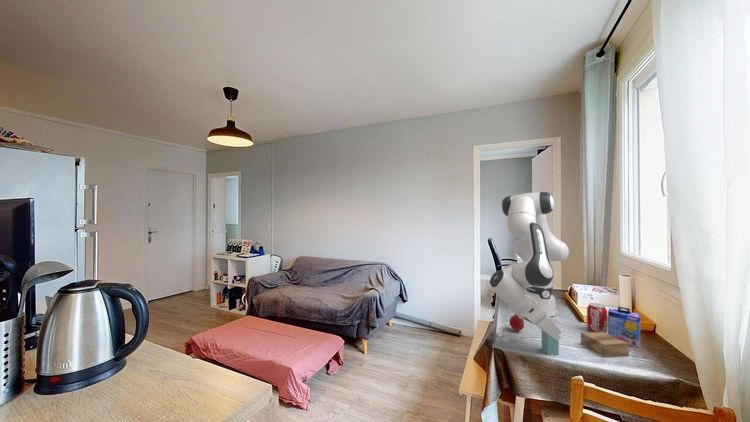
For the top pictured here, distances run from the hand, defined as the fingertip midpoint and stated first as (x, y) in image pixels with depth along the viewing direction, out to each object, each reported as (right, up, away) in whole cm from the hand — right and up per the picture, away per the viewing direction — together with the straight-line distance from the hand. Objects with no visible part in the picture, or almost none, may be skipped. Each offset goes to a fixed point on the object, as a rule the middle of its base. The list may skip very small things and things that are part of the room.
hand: (551, 333), depth 104 cm
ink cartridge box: (+36, -8, +9) cm, 38 cm away
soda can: (+32, -8, +18) cm, 38 cm away
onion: (-4, -7, +18) cm, 20 cm away
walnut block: (+21, -7, +2) cm, 23 cm away
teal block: (-1, -7, 0) cm, 7 cm away
